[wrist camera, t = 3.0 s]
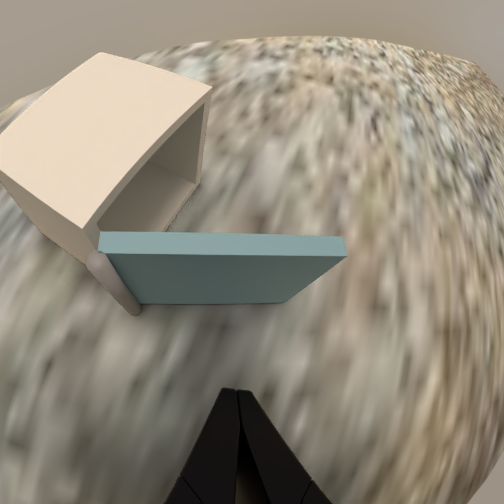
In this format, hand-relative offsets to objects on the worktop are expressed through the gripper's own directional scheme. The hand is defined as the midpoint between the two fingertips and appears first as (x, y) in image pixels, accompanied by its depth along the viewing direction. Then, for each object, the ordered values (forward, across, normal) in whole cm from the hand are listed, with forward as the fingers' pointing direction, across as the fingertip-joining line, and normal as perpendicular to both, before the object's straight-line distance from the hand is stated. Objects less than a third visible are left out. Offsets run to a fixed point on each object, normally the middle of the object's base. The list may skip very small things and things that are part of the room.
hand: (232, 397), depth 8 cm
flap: (+9, +1, +3) cm, 10 cm away
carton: (+13, +8, -1) cm, 15 cm away
